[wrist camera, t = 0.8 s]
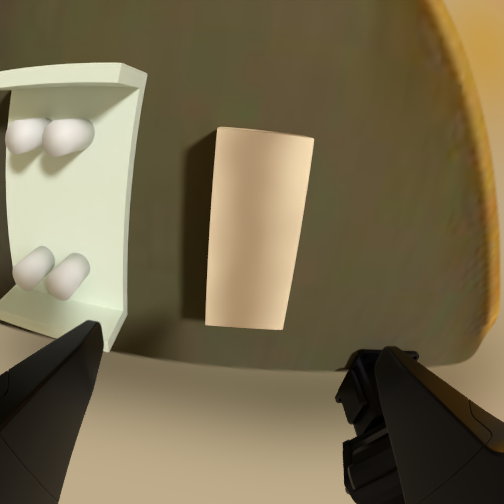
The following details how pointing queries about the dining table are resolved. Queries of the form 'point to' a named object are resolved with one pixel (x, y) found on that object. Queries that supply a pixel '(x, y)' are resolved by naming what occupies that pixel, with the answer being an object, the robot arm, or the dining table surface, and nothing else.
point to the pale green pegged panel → (70, 194)
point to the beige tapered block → (255, 225)
